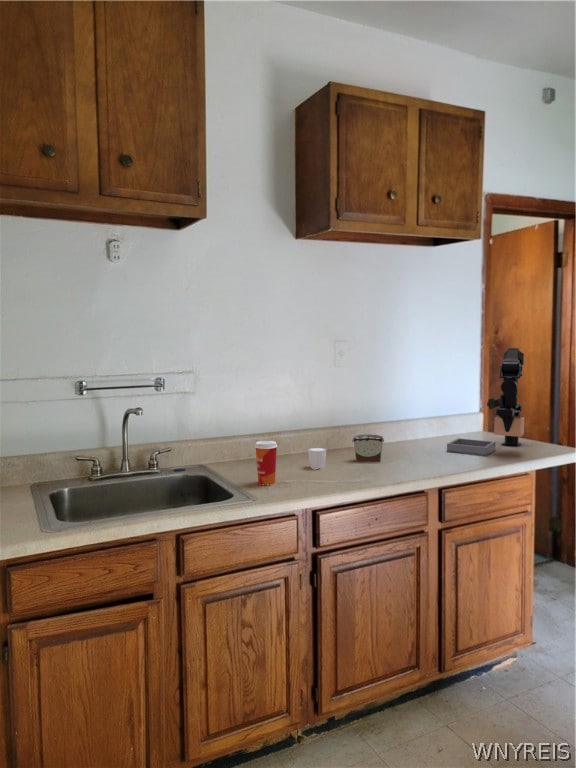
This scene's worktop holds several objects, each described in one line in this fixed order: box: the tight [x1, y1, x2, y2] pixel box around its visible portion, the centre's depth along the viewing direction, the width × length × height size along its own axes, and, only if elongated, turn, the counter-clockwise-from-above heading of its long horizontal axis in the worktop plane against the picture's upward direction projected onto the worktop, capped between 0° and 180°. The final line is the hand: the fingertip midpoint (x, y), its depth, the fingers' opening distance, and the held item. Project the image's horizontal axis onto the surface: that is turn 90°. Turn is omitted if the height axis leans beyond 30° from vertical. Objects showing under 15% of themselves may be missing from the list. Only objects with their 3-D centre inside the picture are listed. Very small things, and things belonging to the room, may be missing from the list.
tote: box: [493, 415, 525, 438], centre depth 231 cm, size 6×10×7 cm, turn 56°
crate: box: [446, 437, 496, 457], centre depth 240 cm, size 14×16×4 cm
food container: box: [352, 433, 385, 463], centre depth 225 cm, size 12×6×10 cm, turn 84°
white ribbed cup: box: [307, 447, 327, 470], centre depth 215 cm, size 7×7×7 cm
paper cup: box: [254, 440, 278, 485], centre depth 193 cm, size 8×8×14 cm
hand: (509, 430), depth 231 cm, fingers closed on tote, 6 cm apart
